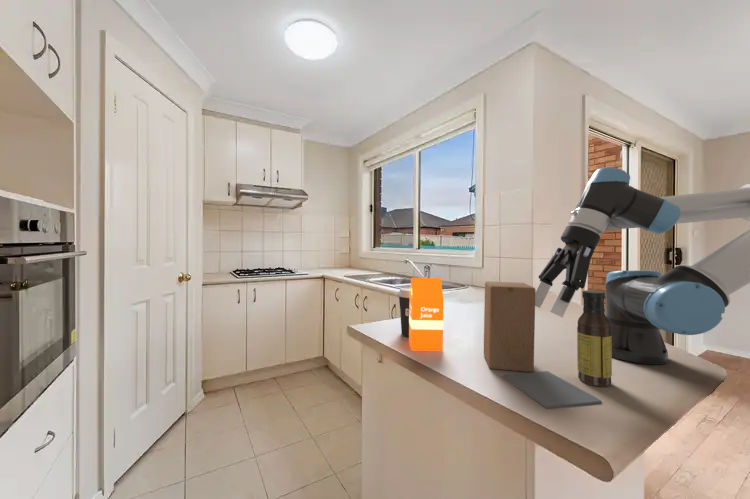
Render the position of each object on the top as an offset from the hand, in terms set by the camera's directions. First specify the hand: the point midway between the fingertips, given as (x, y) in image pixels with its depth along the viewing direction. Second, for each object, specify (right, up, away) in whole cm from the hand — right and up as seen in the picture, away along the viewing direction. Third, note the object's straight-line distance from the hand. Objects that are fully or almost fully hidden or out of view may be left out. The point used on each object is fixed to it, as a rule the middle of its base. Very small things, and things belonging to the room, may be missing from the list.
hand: (544, 309), depth 76 cm
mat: (-5, -14, -11) cm, 19 cm away
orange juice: (-27, -14, +15) cm, 34 cm away
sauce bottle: (+7, -15, -7) cm, 18 cm away
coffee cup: (-29, -14, +26) cm, 42 cm away
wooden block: (-8, -14, +3) cm, 17 cm away
